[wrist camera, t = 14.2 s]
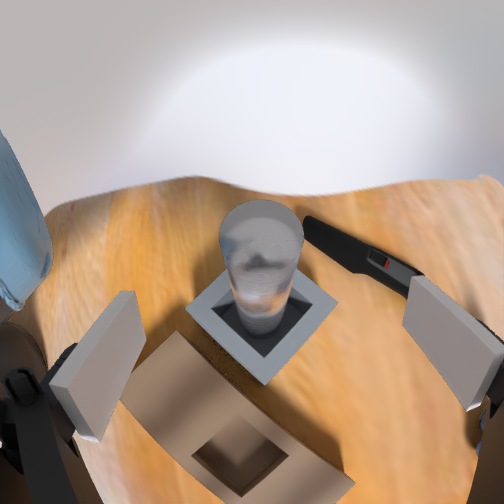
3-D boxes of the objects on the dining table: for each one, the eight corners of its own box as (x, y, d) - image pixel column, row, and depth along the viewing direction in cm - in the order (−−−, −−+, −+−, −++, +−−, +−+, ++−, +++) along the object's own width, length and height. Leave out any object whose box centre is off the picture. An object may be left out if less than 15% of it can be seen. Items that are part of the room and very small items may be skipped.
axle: (232, 320, 26) (201, 236, 12) (259, 292, 27) (258, 186, 14) (262, 347, 25) (264, 291, 11) (289, 317, 26) (320, 231, 12)
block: (197, 322, 27) (184, 308, 22) (259, 262, 29) (259, 237, 25) (264, 385, 24) (265, 385, 20) (325, 317, 27) (338, 302, 22)
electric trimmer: (309, 219, 32) (314, 202, 29) (428, 286, 28) (442, 275, 25) (293, 245, 31) (296, 229, 28) (418, 315, 27) (432, 306, 24)
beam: (129, 391, 24) (112, 390, 21) (185, 337, 26) (176, 329, 23) (283, 527, 17) (286, 543, 14) (344, 473, 20) (355, 483, 17)
